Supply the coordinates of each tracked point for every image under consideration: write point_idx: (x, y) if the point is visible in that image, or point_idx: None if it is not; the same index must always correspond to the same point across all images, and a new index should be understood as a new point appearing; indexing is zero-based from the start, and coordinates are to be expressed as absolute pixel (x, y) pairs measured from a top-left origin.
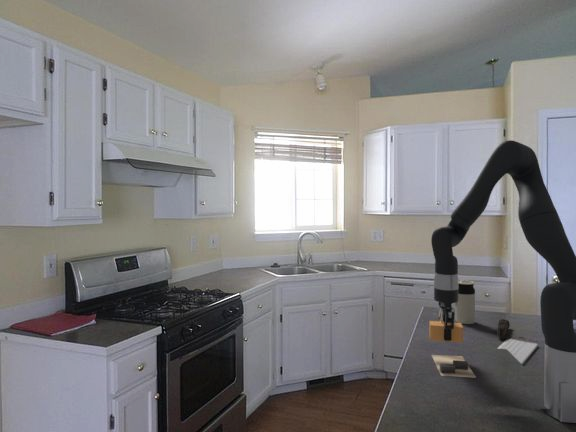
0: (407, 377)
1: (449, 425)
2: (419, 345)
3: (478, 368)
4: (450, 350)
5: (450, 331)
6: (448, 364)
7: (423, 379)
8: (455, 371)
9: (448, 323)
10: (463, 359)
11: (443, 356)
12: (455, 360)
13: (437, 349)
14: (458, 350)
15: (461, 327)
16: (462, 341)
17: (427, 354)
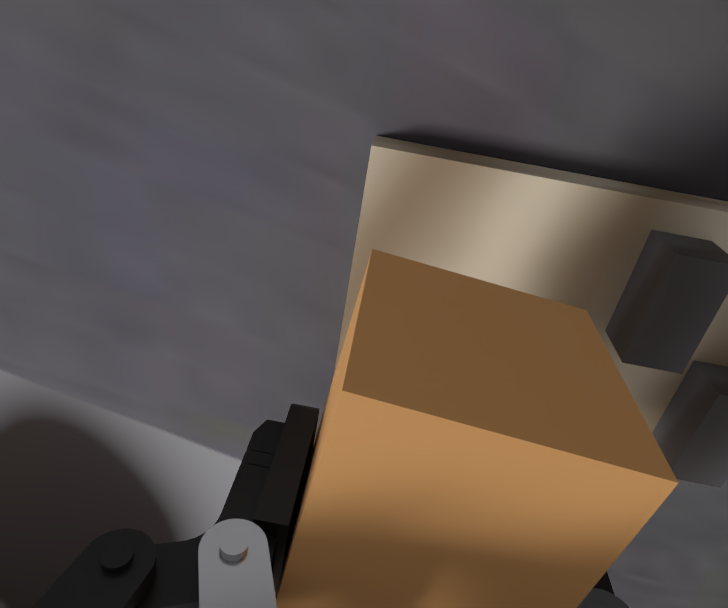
0: (617, 571)
1: None
2: (45, 345)
3: (582, 54)
4: (108, 136)
5: (608, 584)
6: (702, 429)
7: (671, 516)
8: (710, 352)
9: (375, 588)
10: (456, 169)
11: None
12: (632, 344)
13: (107, 244)
14: (90, 50)
15: (659, 501)
16: (588, 324)
17: (238, 356)
